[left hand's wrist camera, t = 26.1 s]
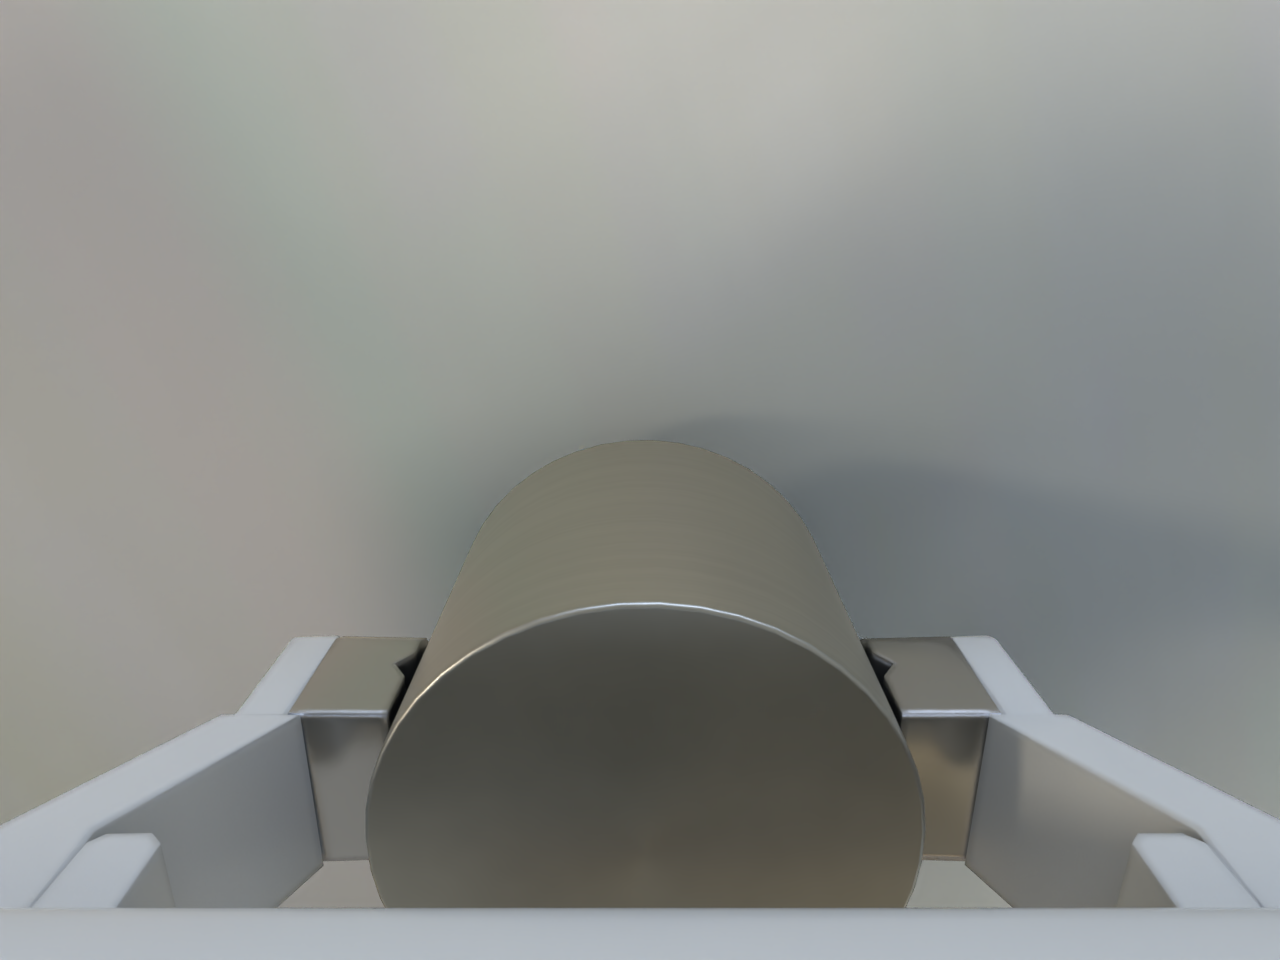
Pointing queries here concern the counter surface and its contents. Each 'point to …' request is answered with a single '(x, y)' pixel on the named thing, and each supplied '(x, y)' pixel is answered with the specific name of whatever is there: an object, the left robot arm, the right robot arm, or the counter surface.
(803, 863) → the canister
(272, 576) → the counter surface
